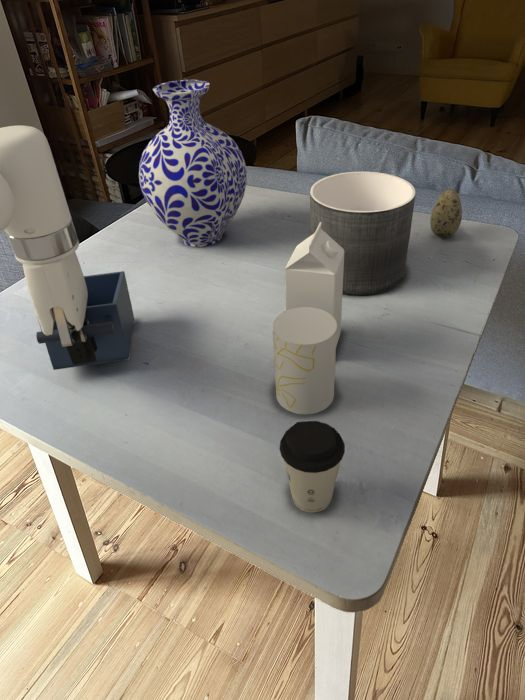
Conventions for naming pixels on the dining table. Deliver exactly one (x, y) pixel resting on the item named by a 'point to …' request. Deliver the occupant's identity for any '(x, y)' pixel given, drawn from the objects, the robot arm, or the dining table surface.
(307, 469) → the coffee cup
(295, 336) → the cup
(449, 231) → the decorative egg
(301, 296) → the milk carton
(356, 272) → the planter
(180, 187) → the vase
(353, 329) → the dining table surface
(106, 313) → the blue drawer with handle
